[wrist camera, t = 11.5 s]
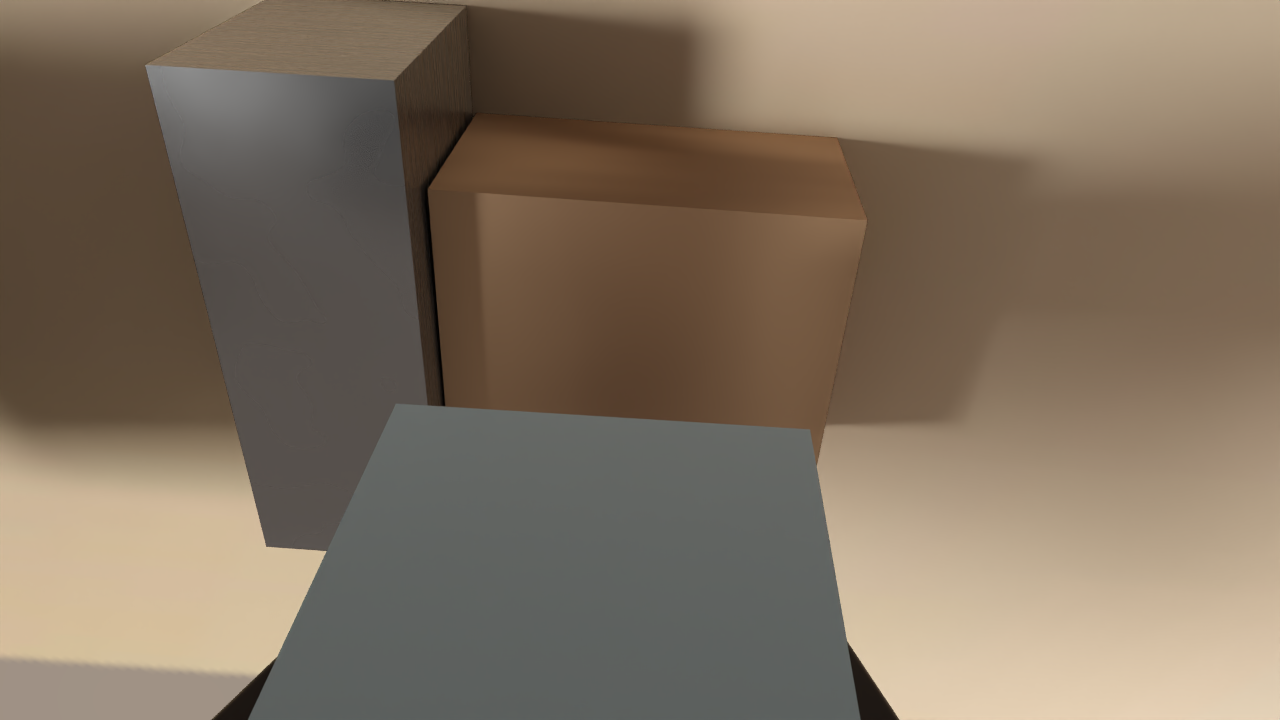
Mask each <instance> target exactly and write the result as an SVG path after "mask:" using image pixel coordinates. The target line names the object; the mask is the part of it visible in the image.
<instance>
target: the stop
mask: <svg viewBox="0 0 1280 720" xmlns="http://www.w3.org/2000/svg"><path fill="white" fill-rule="evenodd" d="M145 67H146V71H147V75H148V79H149V82H150V86H151V90H152V94H153V98H154V102H155V106H156V110H157V114H158V118H159V122H160V126H161V130H162V134H163V138H164V142H165V146H166V150H167V154H168V158H169V162H170V166H171V170H172V174H173V178H174V182H175V186H176V190H177V194H178V198H179V201H180V205H181V209H182V213H183V217H184V221H185V225H186V229H187V233H188V237H189V241H190V245H191V249H192V253H193V257H194V261H195V265H196V269H197V273H198V277H199V281H200V285H201V289H202V293H203V297H204V301H205V305H206V309H207V313H208V316H209V320H210V324H211V328H212V332H213V336H214V340H215V344H216V348H217V352H218V356H219V360H220V364H221V368H222V372H223V376H224V380H225V384H226V388H227V392H228V396H229V400H230V404H231V408H232V412H233V416H234V420H235V424H236V428H237V432H238V435H239V439H240V443H241V447H242V451H243V455H244V459H245V463H246V467H247V471H248V475H249V479H250V483H251V487H252V491H253V495H254V499H255V503H256V507H257V511H258V515H259V519H260V523H261V527H262V531H263V535H264V539H265V543H266V547H279V548H293V549H307V550H320V551H327V550H328V548H329V546H330V543H331V541H332V539H333V537H334V535H335V533H336V531H337V528H338V526H339V524H340V522H341V520H342V518H343V516H344V513H345V511H346V509H347V507H348V505H349V503H350V501H351V499H352V496H353V494H354V492H355V490H356V488H357V486H358V484H359V481H360V479H361V477H362V475H363V473H364V471H365V469H366V466H367V464H368V462H369V460H370V458H371V456H372V454H373V452H374V449H375V447H376V445H377V443H378V441H379V439H380V437H381V434H382V432H383V430H384V428H385V426H386V424H387V422H388V419H389V417H390V415H391V413H392V411H393V409H394V407H395V404H411V405H427V406H443V407H446V406H445V394H444V382H443V370H442V358H441V346H440V333H439V321H438V309H437V297H436V285H435V273H434V260H433V248H432V236H431V224H430V212H429V200H428V188H429V186H430V185H431V183H432V182H433V180H434V179H435V177H436V175H437V174H438V172H439V171H440V169H441V168H442V166H443V165H444V163H445V161H446V160H447V158H448V157H449V155H450V154H451V152H452V151H453V149H454V147H455V146H456V144H457V143H458V141H459V140H460V138H461V137H462V135H463V133H464V132H465V130H466V129H467V127H468V126H469V124H470V123H471V121H472V119H473V117H472V99H471V82H470V64H469V47H468V29H467V12H466V6H462V5H445V4H429V3H412V2H396V1H379V0H264V1H262V2H260V3H258V4H257V5H255V6H253V7H251V8H249V9H247V10H245V11H244V12H242V13H240V14H238V15H236V16H234V17H233V18H231V19H229V20H227V21H225V22H223V23H221V24H220V25H218V26H216V27H214V28H212V29H210V30H209V31H207V32H205V33H203V34H201V35H199V36H197V37H196V38H194V39H192V40H190V41H188V42H186V43H185V44H183V45H181V46H179V47H177V48H175V49H173V50H172V51H170V52H168V53H166V54H164V55H162V56H161V57H159V58H157V59H155V60H153V61H151V62H149V63H148V64H146V65H145Z"/></svg>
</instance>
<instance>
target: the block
mask: <svg viewBox="0 0 1280 720" xmlns="http://www.w3.org/2000/svg"><path fill="white" fill-rule="evenodd" d="M248 720H861V719H860V714H859V708H858V702H857V696H856V691H855V685H854V679H853V673H852V668H851V662H850V656H849V650H848V645H847V639H846V633H845V627H844V622H843V616H842V610H841V604H840V599H839V593H838V587H837V581H836V576H835V570H834V564H833V558H832V553H831V547H830V541H829V535H828V530H827V524H826V518H825V512H824V507H823V501H822V495H821V489H820V484H819V478H818V472H817V466H816V461H815V455H814V449H813V443H812V438H811V432H810V429H795V428H779V427H763V426H747V425H731V424H715V423H699V422H683V421H667V420H651V419H635V418H619V417H603V416H587V415H571V414H555V413H539V412H523V411H507V410H491V409H475V408H459V407H443V406H427V405H411V404H395V407H394V409H393V411H392V413H391V415H390V417H389V419H388V422H387V424H386V426H385V428H384V430H383V432H382V434H381V437H380V439H379V441H378V443H377V445H376V447H375V449H374V452H373V454H372V456H371V458H370V460H369V462H368V464H367V466H366V469H365V471H364V473H363V475H362V477H361V479H360V481H359V484H358V486H357V488H356V490H355V492H354V494H353V496H352V499H351V501H350V503H349V505H348V507H347V509H346V511H345V513H344V516H343V518H342V520H341V522H340V524H339V526H338V528H337V531H336V533H335V535H334V537H333V539H332V541H331V543H330V546H329V548H328V550H327V552H326V554H325V556H324V558H323V560H322V563H321V565H320V567H319V569H318V571H317V573H316V575H315V578H314V580H313V582H312V584H311V586H310V588H309V590H308V593H307V595H306V597H305V599H304V601H303V603H302V605H301V607H300V610H299V612H298V614H297V616H296V618H295V620H294V622H293V625H292V627H291V629H290V631H289V633H288V635H287V637H286V640H285V642H284V644H283V646H282V648H281V650H280V652H279V654H278V657H277V659H276V661H275V663H274V665H273V667H272V669H271V672H270V674H269V676H268V678H267V680H266V682H265V684H264V687H263V689H262V691H261V693H260V695H259V697H258V699H257V701H256V704H255V706H254V708H253V710H252V712H251V714H250V716H249V719H248Z"/></svg>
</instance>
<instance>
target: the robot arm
mask: <svg viewBox="0 0 1280 720" xmlns="http://www.w3.org/2000/svg"><path fill="white" fill-rule="evenodd" d="M847 645H848V650H849V656H850V662H851V668H852V673H853V679H854V685H855V691H856V696H857V702H858V708H859V714H860V719H861V720H899V718H898V717H897V715H896V714H895V712H894V711H893V709H892V708H891V706H890V705H889V703H888V702H887V700H886V699H885V697H884V696H883V694H882V693H881V691H880V690H879V688H878V687H877V685H876V684H875V682H874V681H873V679H872V678H871V676H870V675H869V673H868V672H867V670H866V669H865V667H864V666H863V664H862V663H861V661H860V660H859V658H858V657H857V655H856V654H855V652H854V651H853V649H852V648H851V646H850V645H849V643H848V642H847ZM276 659H277V658H276ZM276 659H274V660H273V661H272V662H271V663H270V664H269V665H268V666H267V667H266V668H265V669H264V670H263V671H262V672H261V673H260V674H259V675H258V676H257V677H256V678H255V679H254V680H253V681H252V682H250V683H249V684H248V686H246V687H245V688H244V689H243V690H242V691H241V692H240V693H239V694H238V695H237V696H236V697H235V698H234V699H233V700H232V701H231V702H230V703H229V704H228V705H226V707H224V709H222V710H221V711H220V712H219V713H218V714H217V715H216V716H215V717H214V718H213V719H212V720H248V719H249V716H250V714H251V712H252V710H253V708H254V706H255V704H256V701H257V699H258V697H259V695H260V693H261V691H262V689H263V687H264V684H265V682H266V680H267V678H268V676H269V674H270V672H271V669H272V667H273V665H274V663H275V661H276Z"/></svg>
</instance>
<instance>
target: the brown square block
mask: <svg viewBox="0 0 1280 720" xmlns="http://www.w3.org/2000/svg"><path fill="white" fill-rule="evenodd" d="M428 200H429V212H430V224H431V236H432V248H433V260H434V273H435V285H436V297H437V309H438V321H439V333H440V346H441V358H442V370H443V382H444V394H445V406H446V407H459V408H475V409H491V410H507V411H523V412H539V413H555V414H571V415H587V416H603V417H619V418H635V419H651V420H667V421H683V422H699V423H715V424H731V425H747V426H763V427H779V428H795V429H810V432H811V438H812V443H813V449H814V455H815V461H816V466H817V462H818V457H819V452H820V448H821V443H822V438H823V433H824V428H825V424H826V419H827V414H828V409H829V404H830V399H831V395H832V390H833V385H834V380H835V375H836V371H837V366H838V361H839V356H840V351H841V347H842V342H843V337H844V332H845V327H846V322H847V318H848V313H849V308H850V303H851V298H852V294H853V289H854V284H855V279H856V274H857V270H858V265H859V260H860V255H861V250H862V246H863V241H864V236H865V231H866V226H867V221H868V220H867V217H866V215H865V212H864V209H863V206H862V204H861V201H860V198H859V196H858V193H857V190H856V187H855V185H854V182H853V179H852V177H851V174H850V171H849V169H848V166H847V163H846V160H845V158H844V155H843V152H842V150H841V147H840V144H839V141H838V139H837V138H834V137H819V136H805V135H790V134H776V133H761V132H747V131H732V130H718V129H704V128H689V127H675V126H660V125H646V124H631V123H617V122H602V121H588V120H574V119H559V118H545V117H530V116H516V115H501V114H487V113H476V115H475V116H474V118H473V119H472V121H471V123H470V124H469V126H468V127H467V129H466V130H465V132H464V133H463V135H462V137H461V138H460V140H459V141H458V143H457V144H456V146H455V147H454V149H453V151H452V152H451V154H450V155H449V157H448V158H447V160H446V161H445V163H444V165H443V166H442V168H441V169H440V171H439V172H438V174H437V175H436V177H435V179H434V180H433V182H432V183H431V185H430V186H429V188H428Z"/></svg>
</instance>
